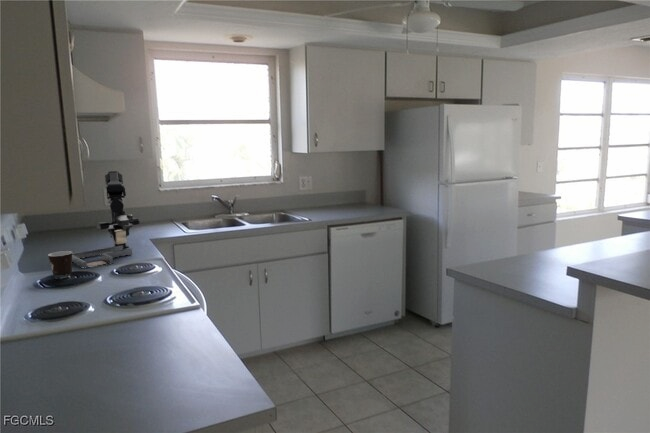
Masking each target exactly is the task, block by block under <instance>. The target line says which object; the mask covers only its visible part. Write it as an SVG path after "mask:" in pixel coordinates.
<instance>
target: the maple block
mask: <svg viewBox="0 0 650 433" xmlns="http://www.w3.org/2000/svg"><path fill="white" fill-rule="evenodd" d="M115 237H116V242H114V241H113V244H114V243H115V244H122V243H126V244H127V243H128V239H127V238H126V231H125V230H116V231H115Z"/></svg>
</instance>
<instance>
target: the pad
mask: <svg viewBox="0 0 650 433" xmlns="http://www.w3.org/2000/svg"><path fill="white" fill-rule="evenodd" d="M103 263H107V262H105V261H103V260H99V261H93V262H88V263H87V262H86V264H87V265H97V264H103Z"/></svg>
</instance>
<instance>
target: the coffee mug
mask: <svg viewBox="0 0 650 433" xmlns="http://www.w3.org/2000/svg"><path fill="white" fill-rule="evenodd" d="M72 253H73V251H70V250H62V251H61V250H60V251H55V252H51V253H49V254H48V255H47V256H48V260H49V264H50V267H51V270H52V275H65V274H70V273H72V274H73V263H72Z"/></svg>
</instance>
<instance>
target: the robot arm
mask: <svg viewBox="0 0 650 433" xmlns="http://www.w3.org/2000/svg"><path fill="white" fill-rule="evenodd" d="M104 180H105V181H104V182H105V185H106V187H105V188H106V196H107V198H106V199H109V207H110V212H109V214H110V217H111V219H110V222H108V221H98V222H97V223H96V229H99V230H107V232H108V233H109V234H110V238H112V240H113V246H118V245H123V249H128V248H129V247H130V246H129V245H128V244H127V243H122V244H115V243H114V242H116V237H115V231H116V230H125V231H126V239H127V237H128V236H130V229H131V228H133V225H134V226H137V225H140V223H141V222H140V219H139V218H137V217H133V214H127V215H126V212H125V211H124V200H123V199H124V198H125V197H126V196H127V194H126V187H125V186H124V185H123V183H124V180H123V174H121V173H120V172H119V170H109V171H108V172H107V174H105V175H104Z"/></svg>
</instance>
